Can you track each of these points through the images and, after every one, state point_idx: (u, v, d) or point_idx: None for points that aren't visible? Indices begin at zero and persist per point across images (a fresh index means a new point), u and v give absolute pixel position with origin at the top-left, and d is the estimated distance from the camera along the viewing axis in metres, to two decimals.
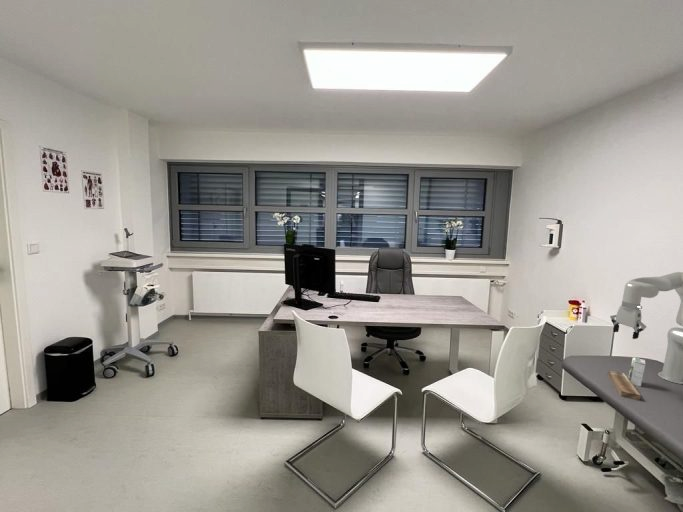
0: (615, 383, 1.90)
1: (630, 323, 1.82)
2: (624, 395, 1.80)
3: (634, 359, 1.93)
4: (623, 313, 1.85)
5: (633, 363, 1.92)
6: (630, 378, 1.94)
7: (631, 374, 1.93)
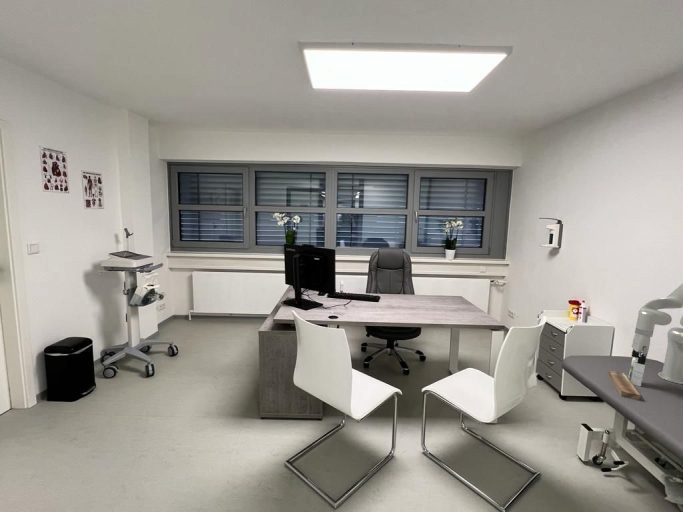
0: (615, 383, 1.90)
1: None
2: (624, 395, 1.80)
3: (634, 359, 1.93)
4: None
5: (633, 363, 1.92)
6: (630, 378, 1.94)
7: (631, 374, 1.93)
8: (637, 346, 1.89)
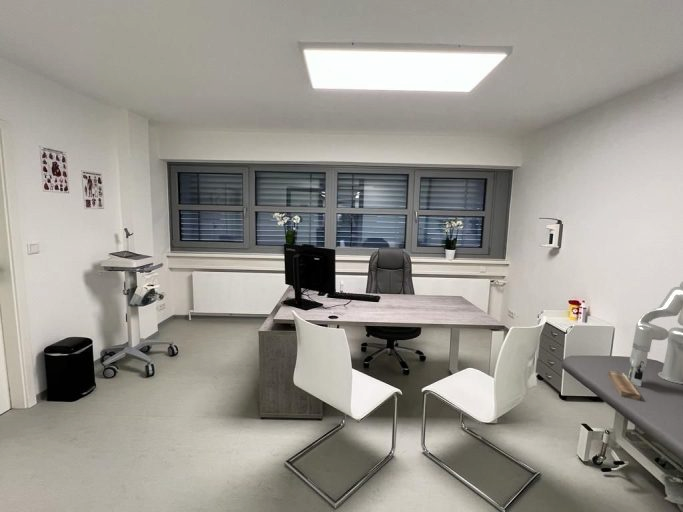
0: (615, 383, 1.90)
1: None
2: (624, 395, 1.80)
3: None
4: None
5: None
6: (630, 378, 1.94)
7: (631, 374, 1.93)
8: (635, 361, 1.90)
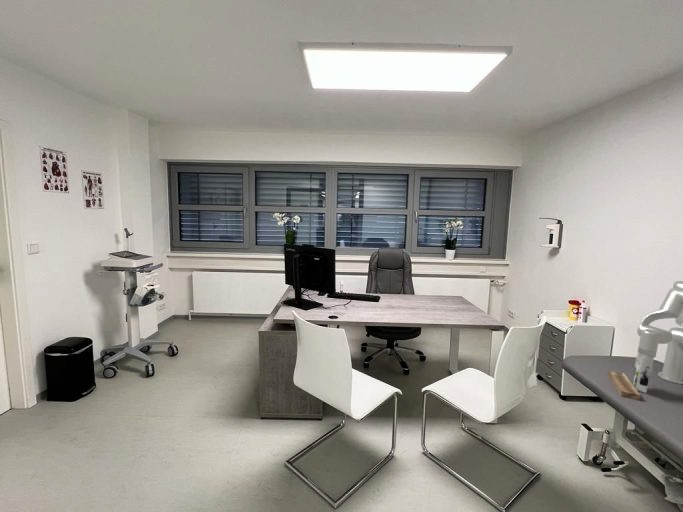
0: (615, 383, 1.90)
1: None
2: (624, 395, 1.80)
3: None
4: None
5: (638, 368, 1.85)
6: (635, 384, 1.86)
7: (636, 380, 1.86)
8: (640, 366, 1.83)
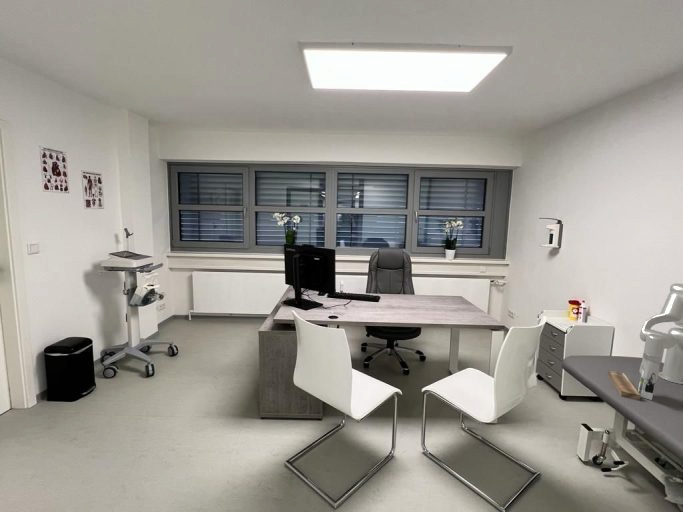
0: (615, 383, 1.90)
1: None
2: (624, 395, 1.80)
3: None
4: None
5: (643, 375, 1.78)
6: (640, 391, 1.79)
7: (641, 387, 1.79)
8: (645, 373, 1.76)
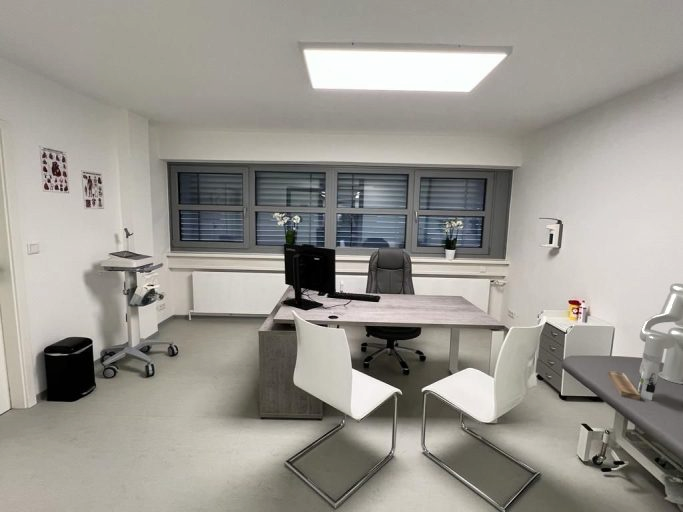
0: (615, 383, 1.90)
1: None
2: (624, 395, 1.80)
3: None
4: None
5: (643, 375, 1.78)
6: (640, 391, 1.80)
7: (641, 387, 1.79)
8: (645, 373, 1.76)
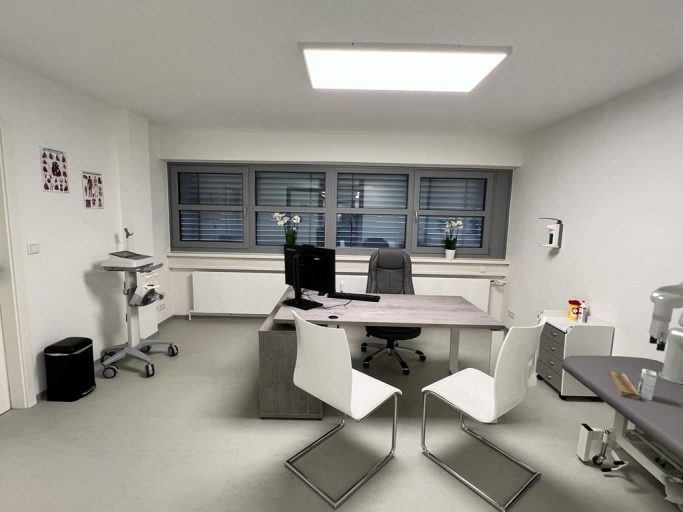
0: (615, 383, 1.90)
1: None
2: (624, 395, 1.80)
3: (644, 371, 1.79)
4: None
5: (643, 375, 1.78)
6: (640, 391, 1.80)
7: (641, 387, 1.79)
8: (655, 332, 1.82)
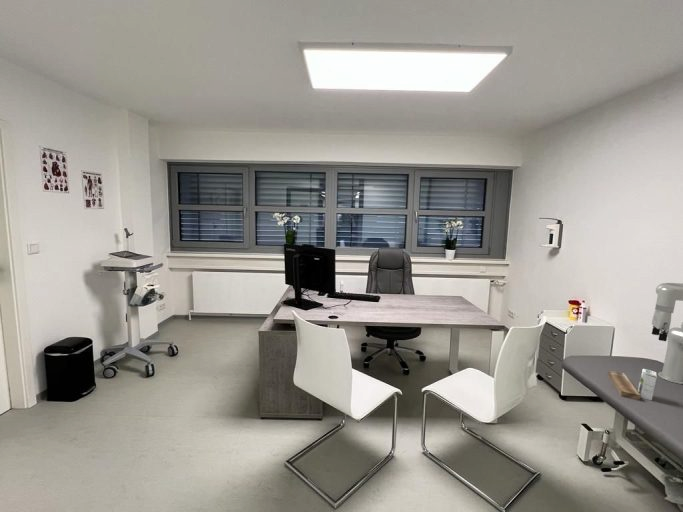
0: (615, 383, 1.90)
1: None
2: (624, 395, 1.80)
3: (644, 371, 1.79)
4: None
5: (643, 375, 1.78)
6: (640, 391, 1.80)
7: (641, 387, 1.79)
8: (658, 323, 1.87)
